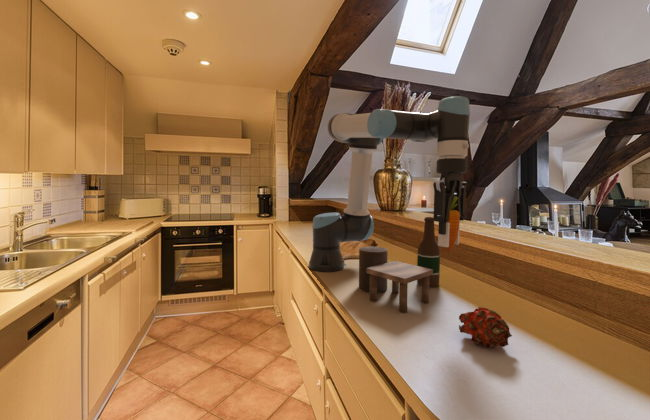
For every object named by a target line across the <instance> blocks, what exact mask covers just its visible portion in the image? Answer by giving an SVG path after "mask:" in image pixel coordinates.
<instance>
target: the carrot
mask: <svg viewBox="0 0 650 420" xmlns="http://www.w3.org/2000/svg"><path fill="white" fill-rule="evenodd" d="M457 199H458V198H457V197H456V196H454V198H453V200H452V199H451V200H452V202H451V205H450V211H449V217H448V222H449V223H450V230H449V247H444V248H445V250H446V251H447V252H450V251H451V250H452V249H453V247H454V246H455V244H454V243H455V241H456V238H457V234H458V230H459V220H460V213H459V212H458V211H457V210H452V209H453V208H455V207H456V206H457V205H458V204H455V202H456V201H457ZM460 221H461V220H460Z"/></svg>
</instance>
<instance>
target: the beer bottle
mask: <svg viewBox="0 0 650 420" xmlns="http://www.w3.org/2000/svg"><path fill="white" fill-rule="evenodd" d="M433 217H434V216H426V217H424V219H423V221H424V229H423V238H422V241H421V242H420V243H419V245H418V248H417V257H416V259H417V261H416V263H417V265H416V266H420V267H424V268H428V269H433V275H430V276H429V289H431V288H438V286H439V285H440V273H441V272H440V271H441V270H440V269H441V268H440V267H441V248H440V246H438V241H437V240H436V235H435V234H436V233H435V229H436V228H435V222H436V221H435V220H434V218H433ZM416 283H417V284H418V285H419V286H421V287H422V278H421V279H418V280H416Z"/></svg>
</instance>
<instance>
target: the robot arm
mask: <svg viewBox="0 0 650 420" xmlns="http://www.w3.org/2000/svg"><path fill="white" fill-rule="evenodd" d="M470 110H471V109H470V100H469V99H468V98H467V97H466V96H461V95H456V96H448V97H444V98H442V99H441V100H439V102H438V107H437V110H435V111H433V112H430V113H422V112H421V113H420V112H413V111H411V112H410V111H401V110H394V109H393V110H392V109H388V108H375V109H373V110H372V112H367V113H349V112H340V113H336V114H334V115H333V116H331V117H330V118H329V120H328V121H327V133H328V135H329V137H331V138H332V139H333V141H336V142H339V143H341V144H342V143H343V144H348V148H349V150H350V151H351V159H350V160H351V162H350V171H349V181H348V182H349V183H348V195H347V206H346V207H345V208H344V209H343V214H342V215H341V213H339V212H336V211H335V212H324V213H320V214H317V215H315V216H314V217H313V218H312V252H311V255H310V259H309V261H308V268H309V269H310V270H312V271H315V272H325V273H326V272H327V273H329V272H330V273H331V272H337V271H342V270H343V269H344V268H345V262H344V260H343V255H342V252H341V243H346V242H348V243H349V242H362V241H365V240H369V239H370V238H371V237H372V235H373V233H374V229H375V222H374V218H373V216H372V215H371V212H370V211H369V210H368V200H369V192H370V182H371V181H370V179H371V171H372V163H373V154H374V152H375V151H377V150H378V146H379V145H381V144H382V142H383V140H384V139H392V140H393V139H395V140H396V139H397V140H410V141H411V142H413V143H425V142H428V141H433V140H437V141H436V142H437V143H436V144H437V145H436V157H437V158H438V159H437V160H436V169H435V170H436V173H437V174H440V178H439V181H434V182H433V190H434V191H433V192H434V193H433V195H434V196H433V197H434V198H433V216H432V217H433V218H434V220H435V221H434V222H436V223H437V222H438V228H437V229H438V230H437V231H438V233H437V235H438V236H437V238H438V239H437V243H438V246H439V247H441V248H443V247H444V248H445V247H449V230H450V223H449V222H448V217H449V211H450V205H451V202H452V200H453V198H454V196H456V197H457V198H458V199H457V201H456V202H455V204H458V205H457V206H456V207H455V208H453V209H452V210H457V211H458V212H459V213H460V220H459V230H458V234H457V238H456V241H455V243H454V245H457V246H458V245H459V244H460V229H461V228H460V227H461V226H460V224H461V221H465V216H466V215H465V214H466V212H465V211H466V195H467V193H466V192H467V191H466V190H467V186H468V182H467V181H463V179H462V174H466V173H467V171H468V159H467V158H466V157H467V156H468V149H469V147H470V144H469V128H470V127H469V126H470V125H469V124H470V115H471V113H470ZM451 199H452V200H451Z"/></svg>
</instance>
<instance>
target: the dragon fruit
mask: <svg viewBox="0 0 650 420" xmlns="http://www.w3.org/2000/svg"><path fill="white" fill-rule="evenodd" d="M458 320H459V321H460V323H461V324H462V325H458V330H459V332H460V333H461V334H462V333H464V334H466V335H471V339H470V340H471V342H472V343H473V344H475V345H479V344H481V343H482V345H483V346H484V347H486V348H491V349H495V347H496V346H499V347H503V348H505V347H506V346H508V345H509V341H508V339H510V338H512V336H513V335H512V333H511V332H510V327H509V325H508V323H507V322H506V321H505V320H504V319H502V316H501V315H500V314H499V313H497V311H495V310H494V309H489V308H487V307H482V306H478V307H477V308H475V309H474V311H468V312H465V313H464V312H463V313H460V315H459V316H458Z"/></svg>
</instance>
